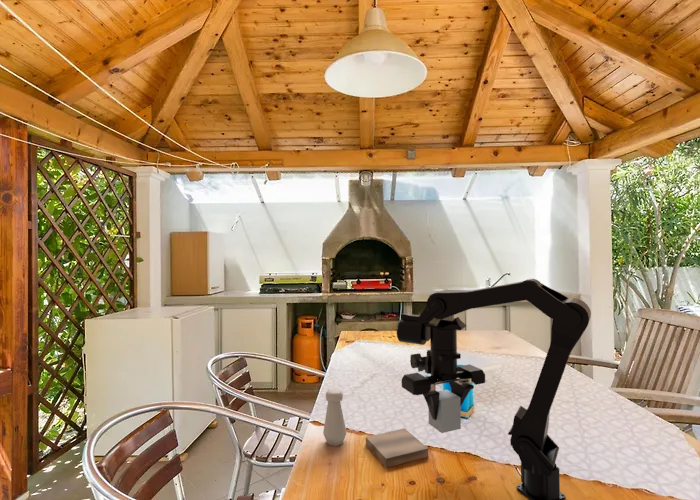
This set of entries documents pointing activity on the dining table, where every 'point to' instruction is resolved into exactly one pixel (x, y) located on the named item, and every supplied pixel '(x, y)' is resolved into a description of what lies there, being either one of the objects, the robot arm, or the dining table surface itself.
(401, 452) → the walnut plinth
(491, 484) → the dining table surface
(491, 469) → the dining table surface
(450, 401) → the slate block
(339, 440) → the salt shaker
